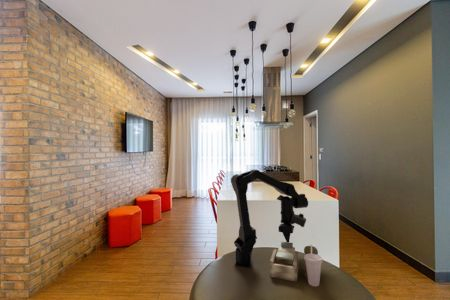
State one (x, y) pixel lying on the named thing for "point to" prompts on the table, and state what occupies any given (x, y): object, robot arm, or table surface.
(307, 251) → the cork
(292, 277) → the box
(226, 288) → the table surface
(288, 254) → the lid
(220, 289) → the table surface
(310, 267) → the smoothie
